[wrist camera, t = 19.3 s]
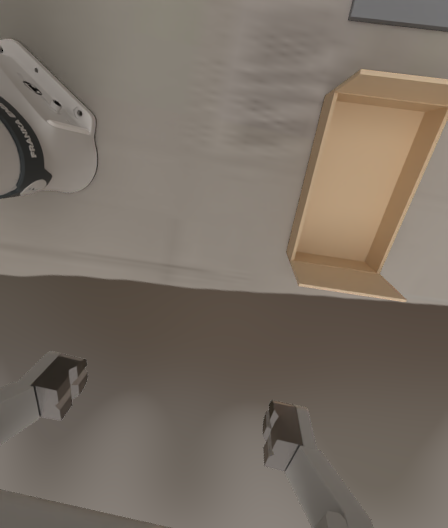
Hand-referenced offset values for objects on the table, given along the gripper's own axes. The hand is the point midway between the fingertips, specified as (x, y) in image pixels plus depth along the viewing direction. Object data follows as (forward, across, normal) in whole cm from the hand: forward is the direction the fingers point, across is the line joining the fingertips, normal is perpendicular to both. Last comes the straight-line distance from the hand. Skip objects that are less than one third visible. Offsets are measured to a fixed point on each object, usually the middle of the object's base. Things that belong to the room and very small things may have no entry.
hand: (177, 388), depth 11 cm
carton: (+37, -18, -7) cm, 42 cm away
